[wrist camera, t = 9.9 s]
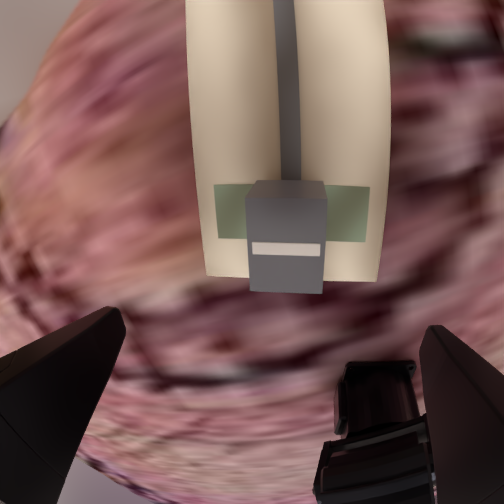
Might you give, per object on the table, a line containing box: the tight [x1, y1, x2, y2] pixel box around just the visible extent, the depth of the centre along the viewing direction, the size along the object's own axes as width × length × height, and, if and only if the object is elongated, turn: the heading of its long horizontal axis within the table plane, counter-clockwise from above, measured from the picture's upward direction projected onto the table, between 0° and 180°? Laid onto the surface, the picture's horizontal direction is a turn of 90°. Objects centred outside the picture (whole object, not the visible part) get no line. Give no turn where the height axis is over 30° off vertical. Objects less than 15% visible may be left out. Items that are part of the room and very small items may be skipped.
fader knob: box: [245, 180, 328, 294], centre depth 14 cm, size 3×4×4 cm
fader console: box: [186, 0, 391, 282], centre depth 14 cm, size 10×22×3 cm, turn 3°
